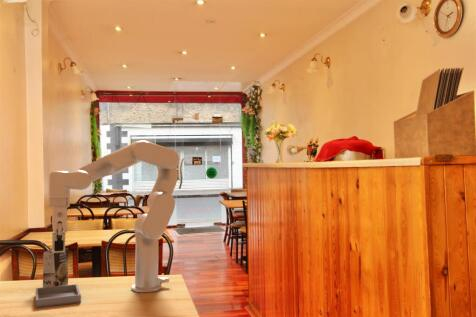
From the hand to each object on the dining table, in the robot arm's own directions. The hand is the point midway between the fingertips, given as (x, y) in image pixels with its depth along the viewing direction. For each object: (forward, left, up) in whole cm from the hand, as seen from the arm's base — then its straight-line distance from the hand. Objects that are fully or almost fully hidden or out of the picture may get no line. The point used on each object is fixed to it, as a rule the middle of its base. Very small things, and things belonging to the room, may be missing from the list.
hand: (58, 249), depth 173 cm
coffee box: (0, -16, -20) cm, 25 cm away
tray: (0, 0, -20) cm, 20 cm away
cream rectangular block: (0, 0, -1) cm, 1 cm away
